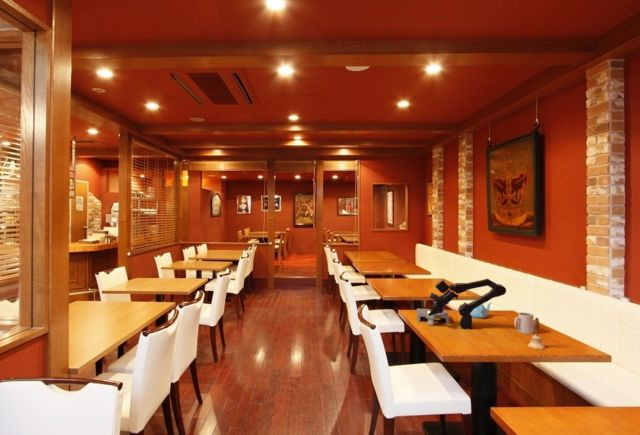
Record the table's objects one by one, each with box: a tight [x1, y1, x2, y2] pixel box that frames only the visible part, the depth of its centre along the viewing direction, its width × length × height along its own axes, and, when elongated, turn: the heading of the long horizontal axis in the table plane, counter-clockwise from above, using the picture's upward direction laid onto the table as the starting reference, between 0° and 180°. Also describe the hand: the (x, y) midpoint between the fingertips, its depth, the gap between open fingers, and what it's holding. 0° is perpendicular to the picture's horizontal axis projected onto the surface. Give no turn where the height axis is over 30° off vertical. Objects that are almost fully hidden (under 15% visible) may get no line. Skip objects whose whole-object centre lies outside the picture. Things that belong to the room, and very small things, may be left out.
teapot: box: [466, 299, 492, 319], centre depth 270 cm, size 15×15×10 cm
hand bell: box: [527, 317, 546, 350], centre depth 208 cm, size 8×8×16 cm
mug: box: [514, 312, 535, 335], centre depth 234 cm, size 12×8×11 cm
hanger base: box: [416, 308, 450, 324], centre depth 261 cm, size 20×16×5 cm
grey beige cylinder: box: [425, 308, 437, 326], centre depth 247 cm, size 6×6×9 cm
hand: (428, 313), depth 248 cm, fingers closed on grey beige cylinder, 6 cm apart
